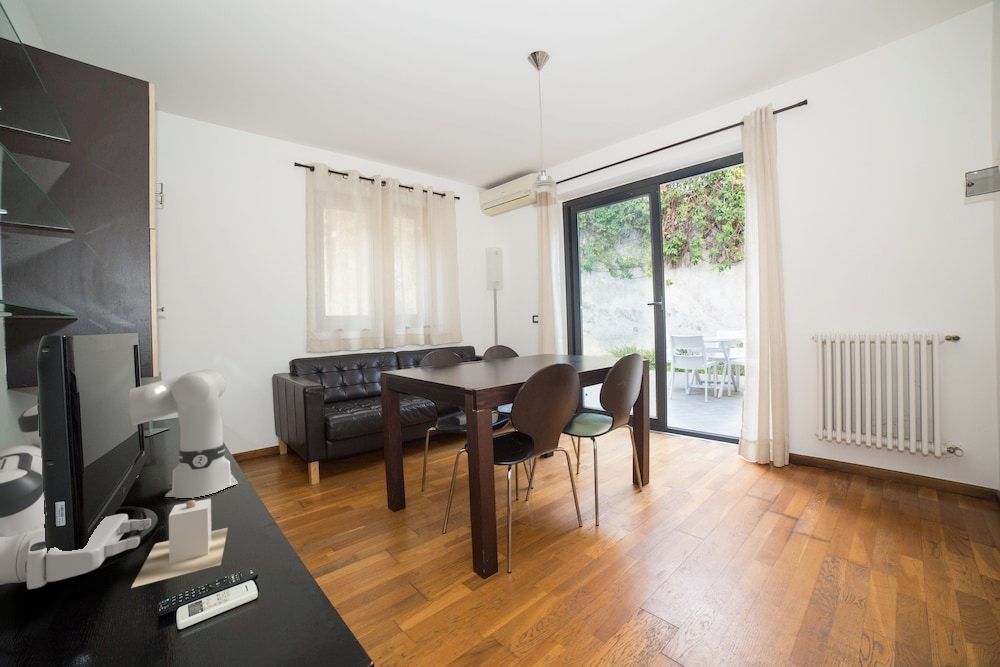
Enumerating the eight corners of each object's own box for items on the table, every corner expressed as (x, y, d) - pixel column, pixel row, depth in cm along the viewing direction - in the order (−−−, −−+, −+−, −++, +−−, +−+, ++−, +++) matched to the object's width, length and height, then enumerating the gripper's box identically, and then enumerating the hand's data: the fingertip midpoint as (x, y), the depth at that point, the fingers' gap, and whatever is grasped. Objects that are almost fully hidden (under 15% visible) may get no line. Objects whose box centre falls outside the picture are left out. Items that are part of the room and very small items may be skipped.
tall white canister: (175, 550, 89) (174, 499, 89) (211, 541, 92) (210, 493, 93) (169, 563, 83) (168, 510, 84) (208, 554, 87) (207, 502, 87)
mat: (155, 546, 92) (155, 543, 92) (227, 530, 100) (227, 527, 100) (130, 591, 75) (130, 587, 75) (220, 567, 82) (220, 564, 82)
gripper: (72, 544, 85) (156, 527, 93) (24, 595, 68) (132, 569, 75) (72, 515, 85) (156, 500, 93) (24, 557, 68) (131, 535, 75)
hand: (145, 531), depth 84 cm, fingers open, 8 cm apart
